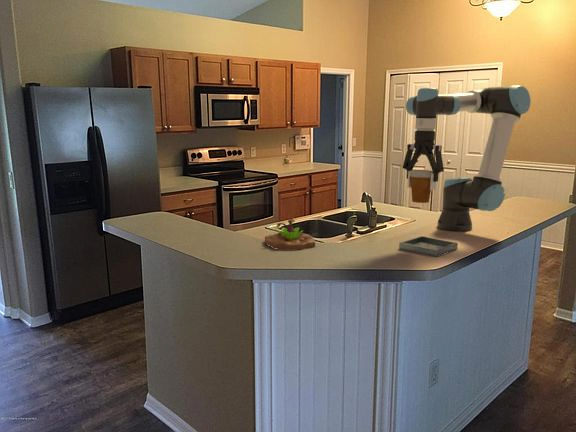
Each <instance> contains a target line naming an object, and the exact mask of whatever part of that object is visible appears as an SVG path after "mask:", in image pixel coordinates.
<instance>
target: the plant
mask: <svg viewBox="0 0 576 432" xmlns="http://www.w3.org/2000/svg"><path fill="white" fill-rule="evenodd" d="M295 222H296V219H295V218H294V217H291V218H289V219H288V221H287V223H288V224H289V225H287V224H286V223H284V222H279V223H277V224H276V228H280V227H281V225H283V226H284V227H282V228H280V230H278V232H277V233H273V234H270V235H266V236H265V237H264V244H265V243H266V244H268V245H270V246H272V247H273V248H278V249H300V250H305V249H304V248H306V249H309V248H310V249H311V248H316V240H315V238H314V236H313V235H310V234H309V233H304V232H303V230H301V231H299V230H300V227H295V228H294V227H293V223H295ZM273 248H272V249H273Z"/></svg>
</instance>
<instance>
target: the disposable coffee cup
mask: <svg viewBox="0 0 576 432" xmlns="http://www.w3.org/2000/svg"><path fill="white" fill-rule="evenodd" d="M432 172H433V171H432V170H428V169H426V170H425V169H413V170H411V172H410V177H411V188H410V189H411V201H412V202H413V203H417V204H418V203H419V204H427V203H429V202H430V197H431V192H432V191H431V190H430V182H431V173H432Z"/></svg>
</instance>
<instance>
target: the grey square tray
mask: <svg viewBox="0 0 576 432" xmlns="http://www.w3.org/2000/svg"><path fill="white" fill-rule="evenodd" d="M398 245H399V247H398V249H399V250H404V251H407V252H410V253H411V252H412V253H416V254H421V255H425V256H430V257H435V258H437V257H440V256H443V255H445V254H444V253H446V254H448V253H451V252H453V250H454V251H457V250H458V246H459V242H456V241H450V240H445V239H439V238H434V237H428V236H423V235H420V236H417V237H413V238H410V239H407V240H404V241H400V242H398ZM456 249H457V250H456ZM450 251H451V252H450ZM447 252H448V253H447ZM442 254H443V255H442ZM439 255H440V256H439Z"/></svg>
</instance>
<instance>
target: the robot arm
mask: <svg viewBox="0 0 576 432" xmlns="http://www.w3.org/2000/svg"><path fill="white" fill-rule="evenodd" d="M531 102H532V101H531V94H530V92H529V90H528V88H526V87H525V86H523V85H505V86H504V85H503V86H491V87H485V88H481V89H474V90H469V91H467V92H466V93H452V94H451V93H450V94H440V93H439V89H438V88H436V87H422V88H419V89H418V90H417V95H416V96H411V97H408V98H407V100H406V103H405V110H406V112H407V113H408V114H409V115H411V116H415V124H414V125H415V126H414V129H415V131H414V143H409V144H407V145H406V149H407V150H406V153H405V156H404V157H405V158H404V161H403V164H402V169H404V170H406V179H407V188H408V189H411V177H410V172H411V170H414V168H415V166H416V163H417V162H418V160H419V158H420V157H421V155H423V156H425V157H426V158H427V160H428V163H429V165H430V168H431V171H433V172H432V173H431V182H430V190H431V192H432V191H436V190H437V182H439V174H440V173H442V172H444V171H445V169H444V163H443V162H444V161H443V155H442V145H441V144H440V145H437V144H435V141H436V131H435V130H436V128H437V116H441V115H443V116H453V115H456V114H458V112H459V113H460V112H467V113H469V114H474V113H476V114H489V115H490V116H491V118H492V124H491V128H490V131H489V134H488V138H487V141H486V146H485V148H484V153H483V155H482V158H481V159H482V160H481V164H480V166H479V169H478V173H477V174H475V175H474V176H473V178H472V177H468V176H466V177H455V178H454V177H452V178H446V179H444V184H443V191H442V192H443V193H442V211H441V212H440V215H439V217H438V220H437V228H438V229H441V230H445V231H451V232H467V231H472V230H473V222H472V219H471V218H472V217H471V214H470V209H474V210H479V211H483V212H485V211H486V212H494V211H495V210H497V209H498V208H500V206H501V205H502V204H503V202H504V200H505V197H506V193H505V188H504V186H503V185H502V184H503V181H502V180H501V178H500V176H501V175H502V174H501V173H502V169H503V166H504V162H505V160H506V155H507V152H508V148H509V145H510V142H511V138H512V134H513V130H514V127H515V124H516V123H518V122H519V121H520V120H521V118H522V117H521V116H522V115H525V114H526V113H528V111H529V109H530V108H531Z"/></svg>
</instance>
